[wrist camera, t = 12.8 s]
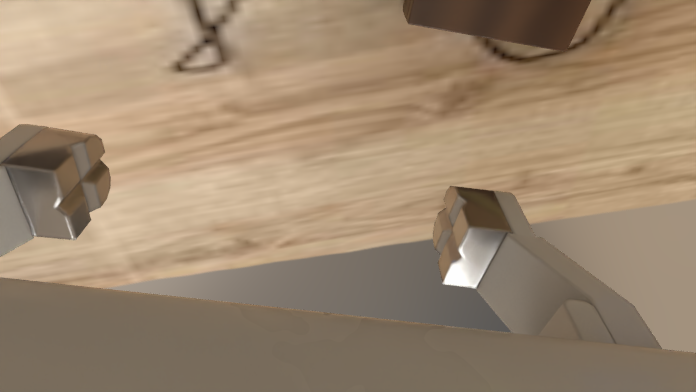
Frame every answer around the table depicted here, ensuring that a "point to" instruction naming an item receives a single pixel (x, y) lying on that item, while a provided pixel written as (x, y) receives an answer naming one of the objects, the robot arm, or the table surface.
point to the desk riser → (503, 19)
